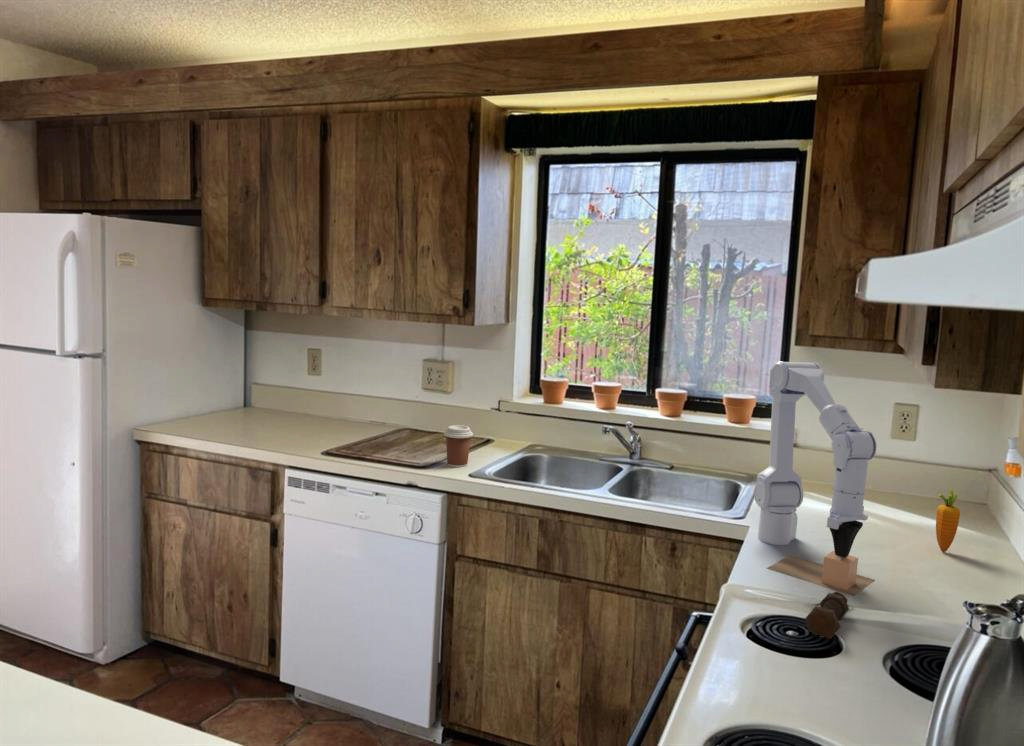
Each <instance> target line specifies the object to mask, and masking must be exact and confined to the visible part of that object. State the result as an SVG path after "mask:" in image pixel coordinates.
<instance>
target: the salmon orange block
mask: <svg viewBox="0 0 1024 746" xmlns="http://www.w3.org/2000/svg"><path fill="white" fill-rule="evenodd" d="M858 562H859V557H857V556H854V555H850V554H849V555H848V557H846V558H844V557H840V556H837V555H835V550H832V551H830V552H829V553H827V554H826V555H824V557H823V563H822V564H823V572H822V581H821V583H824V584H828V585H831V586H834V587H837V588H841V589H844V590H848V589H849V588H850V587H852V586H853V585H854V584H855V582H856V574H857V575H858V573H857V572H858V564H859V563H858Z"/></svg>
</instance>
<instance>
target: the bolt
mask: <svg viewBox="0 0 1024 746" xmlns="http://www.w3.org/2000/svg"><path fill="white" fill-rule="evenodd" d="M849 609H850V608H849V605H848V598H846V596H845V595H844V594H842V592H839V591H834V592H828V593H827V594H826V595H825V597H823V599H822V600H821V601H820V602H819V605H816V606H815V607H814V608H813V609H812V610H811V611H810V612H809V613H808V615H807V616H806V617H805V618H804V621H805V623H806V626H807V630H808V631H809V632H812V633H814V634H816V635H820V636H824V637H826V638H829V639H828V640H831V639H832V638H833V637H835V634H837V632H839V630H840V629H841V627H842V626H841V623H840V620H841V619H843V617H844V616H845V615H846V614H847V613H848V612H849Z"/></svg>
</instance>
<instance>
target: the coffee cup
mask: <svg viewBox="0 0 1024 746" xmlns="http://www.w3.org/2000/svg"><path fill="white" fill-rule="evenodd" d="M443 435H444V436H445V440H446V441H445V442H446V466H448V467H451V468H466V467H467V466H468V463H469V462H468V461H469V454H470V453H469V452H470V446H471V445H470V444H471V440H472V437H473V436H474V433H473V432H472V430H471V428H470V427H469V426H467V425H463V424H462V425H461V424H454V425H448V426H447V429H446V430H445V431H444V433H443Z"/></svg>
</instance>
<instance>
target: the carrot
mask: <svg viewBox="0 0 1024 746" xmlns="http://www.w3.org/2000/svg"><path fill="white" fill-rule="evenodd" d="M938 496H939V497H940V498H941V499H943V501H944V503H945V504H940V505H938V507H937V509H936V510H937V511H936V516H935V533H936V541H937V544H938V547H939V549H940V551H941V552H942V553H943V552H944V553H946V552H947V551H948V549H949V548H950V547H951V545H952V543H953V542H954V539H955V537H956V534H957V531H958V528H959V522H960V516H961V510H960V508H958V507H956V506H954V503H955V502H956V500H957V498H958V495H957V494H956V493H954V491H953V490H952V489H949V490H948V497H946V496H945V495H943V494H942V493H940V494H938Z"/></svg>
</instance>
